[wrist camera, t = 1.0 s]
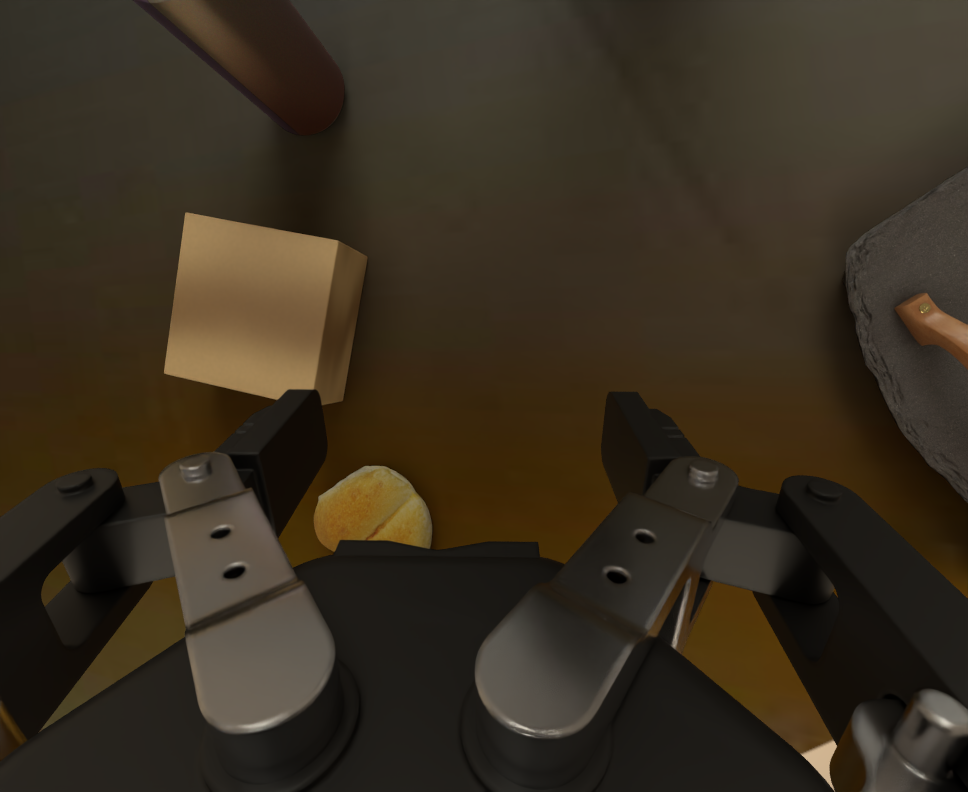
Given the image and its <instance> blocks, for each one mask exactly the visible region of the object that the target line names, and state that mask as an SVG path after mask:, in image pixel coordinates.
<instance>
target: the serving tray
mask: <svg viewBox="0 0 968 792" xmlns="http://www.w3.org/2000/svg"><path fill="white" fill-rule="evenodd" d="M842 279H843V283H844V285H845V286H846V289H847V295H848V301H849V307H850V310H851V312H852V314H853V316H854V318H855V331H856V335H857V338H858V341H859V345H860V348H861V351H862V355H863V358H864V361H865V364H866V366H867V367H868V368H869V370H870V371H871V372H872V373H873V375H874V377H875V380H876V382H877V385H878V387H879V389H880V391H881V393H882V396H883V398H884V400H885V402H886V404H887V406H888V408H889V410H890V412H891V414H892V416H893V418H894V420H895V422H896V423H897V425H898V427H899V428H900V430H901V431H902V433H903V434H904V436H905V437H906V438H907V440H908V441H909V442H910V443H911V444H912V446H913V447H914V448H915V449H916V450H917V451H918V452H919V453H920V454H921V456H922V457H923V458H924V460H925V461H926V463H927V464H928V466H930V467H931V468H932V469H934V470H935V471H937V472H938V473H939V474H940V475H941V476H943V477H944V478H945V479H946V480H947V481H948V482H949V483H950V484H951V485H952V487H953V488H954V489H955V490H956V491H957V492H958V493H959V495H960V496H961V497H962V498H963V499H964V500H965V501H966V502H967V503H968V167H966V168H965V169H963V170H962V171H960V172H959V173H957V174H956V175H954V176H952V177H950V178H948V179H946V180H945V181H944V182H943V183H941V184H940V185H938V186H937V187H935V188H934V189H932V190H931V191H929V192H928V193H926V194H925V195H923V196H922V197H920V198H919V199H917V200H915V201H914V202H912V203H910V204H909V205H908V206H906V207H905V208H903V209H902V210H900V211H899V212H897V213H895V214H894V215H892V216H891V217H889V218H887V219H886V220H884V221H883V222H881V223H880V224H878V225H877V226H875V227H874V228H872V229H871V230H869V231H868V232H866V233H865V234H863V235H862V236H861V237H860V238H859V239H858V240H857V241H856V242H855V243H854V244H852V245H851V246H850V248H849V250H848V252H847V254H846V270H845V271H844V274H843V278H842Z"/></svg>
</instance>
